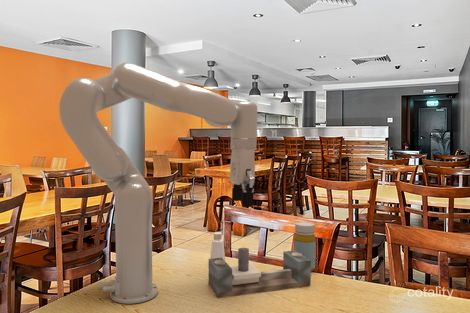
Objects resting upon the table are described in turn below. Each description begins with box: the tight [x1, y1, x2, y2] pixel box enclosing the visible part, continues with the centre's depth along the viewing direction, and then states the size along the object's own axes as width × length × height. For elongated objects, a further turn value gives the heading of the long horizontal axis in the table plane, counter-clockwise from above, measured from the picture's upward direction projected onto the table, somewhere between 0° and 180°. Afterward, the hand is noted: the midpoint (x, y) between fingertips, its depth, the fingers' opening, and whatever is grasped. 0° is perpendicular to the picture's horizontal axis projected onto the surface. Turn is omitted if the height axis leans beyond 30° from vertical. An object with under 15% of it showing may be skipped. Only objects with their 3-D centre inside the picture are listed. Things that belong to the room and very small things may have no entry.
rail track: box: [208, 250, 312, 299], centre depth 110 cm, size 28×10×8 cm, turn 108°
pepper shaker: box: [209, 231, 226, 262], centre depth 127 cm, size 5×5×11 cm
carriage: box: [230, 247, 262, 285], centre depth 109 cm, size 8×7×9 cm
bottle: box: [293, 221, 317, 273], centre depth 124 cm, size 7×7×15 cm
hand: (242, 203), depth 111 cm, fingers open, 9 cm apart
